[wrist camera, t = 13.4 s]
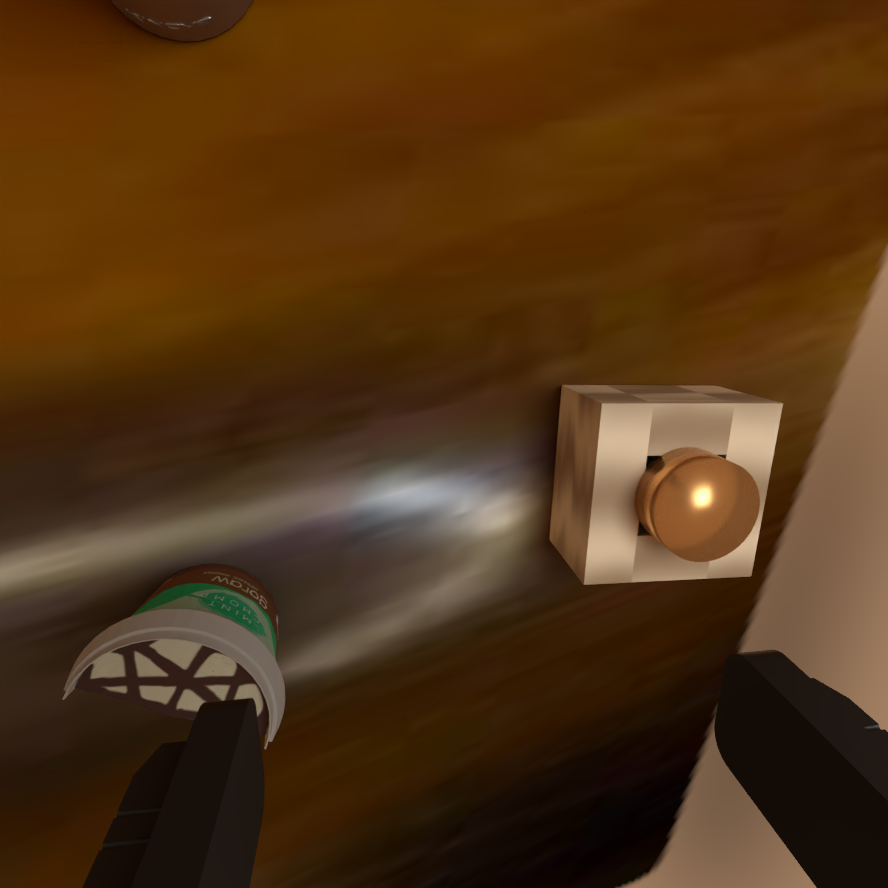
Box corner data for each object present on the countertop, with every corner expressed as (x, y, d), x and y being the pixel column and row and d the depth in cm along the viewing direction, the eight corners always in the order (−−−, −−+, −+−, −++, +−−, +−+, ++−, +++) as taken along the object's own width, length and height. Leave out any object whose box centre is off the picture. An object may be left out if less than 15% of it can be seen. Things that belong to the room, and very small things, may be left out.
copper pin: (597, 423, 41) (666, 461, 32) (678, 423, 42) (768, 459, 33) (589, 505, 43) (652, 564, 33) (667, 503, 44) (750, 559, 34)
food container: (323, 579, 42) (312, 665, 32) (293, 648, 43) (274, 751, 33) (152, 524, 39) (85, 600, 29) (125, 600, 40) (51, 697, 30)
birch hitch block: (561, 385, 40) (601, 403, 34) (715, 385, 42) (782, 403, 35) (549, 539, 43) (583, 584, 37) (693, 534, 45) (751, 576, 38)
